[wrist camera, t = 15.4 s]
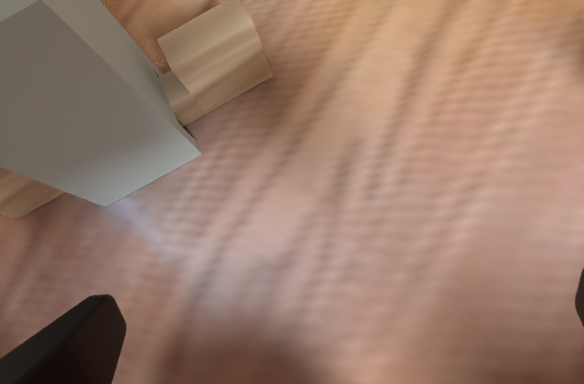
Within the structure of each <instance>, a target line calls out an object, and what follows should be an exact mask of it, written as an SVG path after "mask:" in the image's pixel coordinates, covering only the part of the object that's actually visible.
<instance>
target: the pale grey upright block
mask: <svg viewBox="0 0 584 384" xmlns="http://www.w3.org/2000/svg"><path fill="white" fill-rule="evenodd" d="M161 75H163V74H162V72H161V71H160V70H159V69H158V68H157V66H156V65H155V64H154V63H153V62H152V61H151V59H150V58H149V57H148V56H147V55H146V54H145V52H144V51H143V50H142V49H141V48H140V47H139V45H138V44H137V43H136V42H135V41H134V39H133V38H132V37H131V36H130V35H129V34H128V32H127V31H126V30H125V29H124V28H123V27H122V25H121V24H120V23H119V22H118V21H117V20H116V18H115V17H114V16H113V15H112V14H111V12H110V11H109V10H108V9H107V8H106V7H105V5H104V4H103V3H102V2H101V1H100V0H0V167H2V168H5V169H7V170H10V171H13V172H15V173H18V174H20V175H23V176H26V177H28V178H31V179H33V180H36V181H39V182H41V183H44V184H46V185H49V186H52V187H54V188H57V189H59V190H62V191H65V192H67V193H70V194H72V195H75V196H78V197H80V198H83V199H85V200H88V201H91V202H93V203H96V204H98V205H101V206H104V207H107V206H109V205H111V204H112V203H114V202H116V201H118V200H120V199H122V198H123V197H125V196H127V195H129V194H131V193H133V192H134V191H136V190H138V189H140V188H142V187H144V186H145V185H147V184H149V183H151V182H153V181H155V180H156V179H158V178H160V177H162V176H164V175H165V174H167V173H169V172H171V171H173V170H175V169H176V168H178V167H180V166H182V165H184V164H186V163H187V162H189V161H191V160H193V159H195V158H197V157H198V156H200V155H202V152H201V150H200V148H199V146H198V144H197V142H196V140H195V139H194V138H193V137H192V136H191V135H190V134H189V133H188V132H187V131H186V130H185V129H184V128H183V127H182V126H181V125H180V124H179V123H178V121H177V119H176V116H175V114H174V112H173V110H172V108H171V106H170V104H169V101H168V99H167V97H166V95H165V93H164V91H163V89H162V86H161V84H160V82H159V80H158V77H160V76H161Z"/></svg>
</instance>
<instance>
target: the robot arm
mask: <svg viewBox="0 0 584 384" xmlns="http://www.w3.org/2000/svg"><path fill="white" fill-rule="evenodd" d="M575 307H576V311H577V313H578V316H579V318H580V320H581V322H582V324H583V327H584V268H583V270H582V273H581V277H580V281H579V285H578V289H577V293H576V297H575ZM125 335H126V322H125V320H124V318H123V316H122V313H121V311H120V309H119V307H118V305H117V303H116V301H115V299H114V297H112V296H111V295H108V294H105V295H93V296H89V297H88V298H86V299H85V300H83V301H82V302H81V303H79V304H78V305H76V306H75V307H73V308H72V309H71V310H69V311H68V312H66V313H65V314H63V315H62V316H61V317H59V318H58V319H56V320H55V321H53V322H52V323H51V324H49V325H48V326H46V327H45V328H44V329H42V330H41V331H39V332H38V333H36V334H35V335H34V336H32V337H31V338H29V339H28V340H26V341H25V342H24V343H22V344H21V345H19V346H18V347H16V348H15V349H14V350H12V351H11V352H9V353H8V354H6V355H5V356H4V357H2V358H1V359H0V384H112V380H113V377H114V373H115V370H116V366H117V363H118V359H119V356H120V353H121V349H122V346H123V342H124V339H125Z"/></svg>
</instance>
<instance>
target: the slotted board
mask: <svg viewBox="0 0 584 384" xmlns="http://www.w3.org/2000/svg"><path fill="white" fill-rule="evenodd" d="M157 42H158V44H159V46H160V48H161V50H162V52H163V54H164V56H165V58H166V60H167V62H168V64H169V66H170V68H171V70H170V71H169V72H167V73H165V74H163V75H161V76H160V77H158V80H159V82H160V84H161V86H162V89H163V91H164V93H165V95H166V97H167V99H168V101H169V104H170V106H171V108H172V110H173V112H174V114H175V116H176V119H177V121H178V123H179V124H180V125H181V126H182V127H184V126H185V125H187V124H189V123H191V122H193V121H194V120H196V119H198V118H200V117H201V116H203V115H205V114H207V113H209V112H210V111H212V110H214V109H216V108H218V107H219V106H221V105H223V104H225V103H226V102H228V101H230V100H232V99H234V98H235V97H237V96H239V95H241V94H243V93H244V92H246V91H248V90H250V89H251V88H253V87H255V86H257V85H259V84H260V83H262V82H264V81H266V80H268V79H269V78H271V77H273V76H274V75H273V73H272V70H271V67H270V65H269V62H268V59H267V57H266V54H265V51H264V49H263V46H262V43H261V41H260V38H259V35H258V33H257V30H256V27H255V25H254V22H253V20H252V19H251V17H250V15H249V14H248V12H247V11H246V9H245V7H244V6H243V4H242V2H241V1H240V0H226V1H224V2H222V3H221V4H219V5H217V6H215V7H213V8H212V9H210V10H208V11H206V12H205V13H203V14H201V15H199V16H197V17H196V18H194V19H192V20H190V21H189V22H187V23H185V24H183V25H181V26H180V27H178V28H176V29H174V30H173V31H171V32H169V33H167V34H165V35H164V36H162V37H160V38H158V39H157ZM64 193H66V192H65V191H62V190H59V189H57V188H54V187H52V186H49V185H46V184H44V183H41V182H39V181H36V180H33V179H31V178H28V177H26V176H23V175H20V174H18V173H15V172H13V171H10V170H7V169H5V168H2V167H0V215H2V216H6V217H10V218H14V219H19V218H21V217H23V216H25V215H26V214H28V213H30V212H32V211H34V210H35V209H37V208H39V207H41V206H43V205H44V204H46V203H48V202H50V201H51V200H53V199H55V198H57V197H59V196H60V195H62V194H64Z"/></svg>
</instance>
